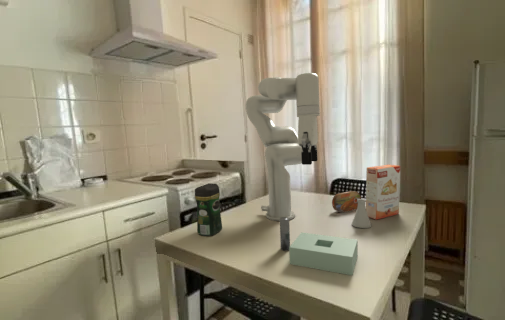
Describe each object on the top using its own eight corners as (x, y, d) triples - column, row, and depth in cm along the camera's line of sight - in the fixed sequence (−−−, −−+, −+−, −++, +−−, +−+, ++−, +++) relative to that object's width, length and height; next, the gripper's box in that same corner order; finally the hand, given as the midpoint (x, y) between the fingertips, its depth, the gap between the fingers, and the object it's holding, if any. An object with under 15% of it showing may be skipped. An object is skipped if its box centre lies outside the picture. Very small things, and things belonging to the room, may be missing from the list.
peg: (279, 250, 90) (278, 219, 89) (282, 246, 93) (281, 216, 92) (288, 251, 89) (287, 220, 88) (291, 247, 92) (290, 217, 90)
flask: (373, 229, 104) (373, 202, 103) (352, 228, 106) (352, 202, 105) (369, 222, 112) (369, 197, 110) (350, 222, 113) (350, 197, 112)
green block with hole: (289, 263, 81) (289, 247, 80) (301, 247, 92) (301, 232, 91) (352, 275, 73) (352, 257, 73) (357, 255, 84) (357, 239, 84)
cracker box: (377, 220, 113) (377, 168, 111) (365, 216, 118) (365, 167, 116) (400, 214, 119) (401, 165, 117) (387, 210, 125) (388, 163, 122)
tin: (335, 214, 124) (335, 195, 123) (330, 212, 127) (330, 193, 126) (361, 208, 130) (361, 190, 129) (356, 207, 133) (356, 189, 132)
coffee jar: (208, 226, 115) (205, 181, 113) (225, 228, 111) (222, 182, 109) (193, 235, 106) (190, 186, 104) (211, 238, 103) (208, 187, 101)
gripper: (302, 114, 104) (304, 160, 106) (290, 111, 88) (292, 165, 90) (323, 112, 101) (325, 160, 103) (314, 109, 85) (316, 165, 87)
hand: (310, 162), depth 96 cm, fingers open, 9 cm apart
